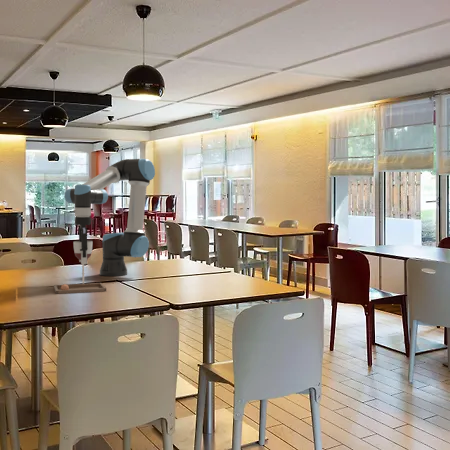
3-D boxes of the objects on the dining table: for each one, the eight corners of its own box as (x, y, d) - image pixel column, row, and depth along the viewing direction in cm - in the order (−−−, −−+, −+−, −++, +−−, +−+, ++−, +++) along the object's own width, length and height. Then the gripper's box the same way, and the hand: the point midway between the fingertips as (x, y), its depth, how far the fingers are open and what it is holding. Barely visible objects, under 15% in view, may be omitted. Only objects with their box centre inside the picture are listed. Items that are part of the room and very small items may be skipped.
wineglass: (96, 285, 282) (96, 240, 281) (85, 288, 273) (85, 242, 272) (81, 284, 285) (80, 240, 284) (69, 287, 276) (69, 241, 275)
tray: (101, 287, 276) (101, 282, 276) (106, 293, 261) (106, 288, 261) (54, 289, 269) (54, 285, 269) (56, 295, 254) (55, 290, 254)
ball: (68, 291, 261) (68, 283, 261) (69, 292, 258) (68, 284, 258) (60, 291, 260) (60, 283, 260) (60, 292, 257) (60, 285, 257)
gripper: (72, 215, 286) (73, 260, 288) (76, 217, 266) (77, 266, 267) (88, 215, 289) (88, 260, 290) (93, 217, 269) (93, 265, 270)
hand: (83, 263), depth 279 cm, fingers closed on wineglass, 9 cm apart
